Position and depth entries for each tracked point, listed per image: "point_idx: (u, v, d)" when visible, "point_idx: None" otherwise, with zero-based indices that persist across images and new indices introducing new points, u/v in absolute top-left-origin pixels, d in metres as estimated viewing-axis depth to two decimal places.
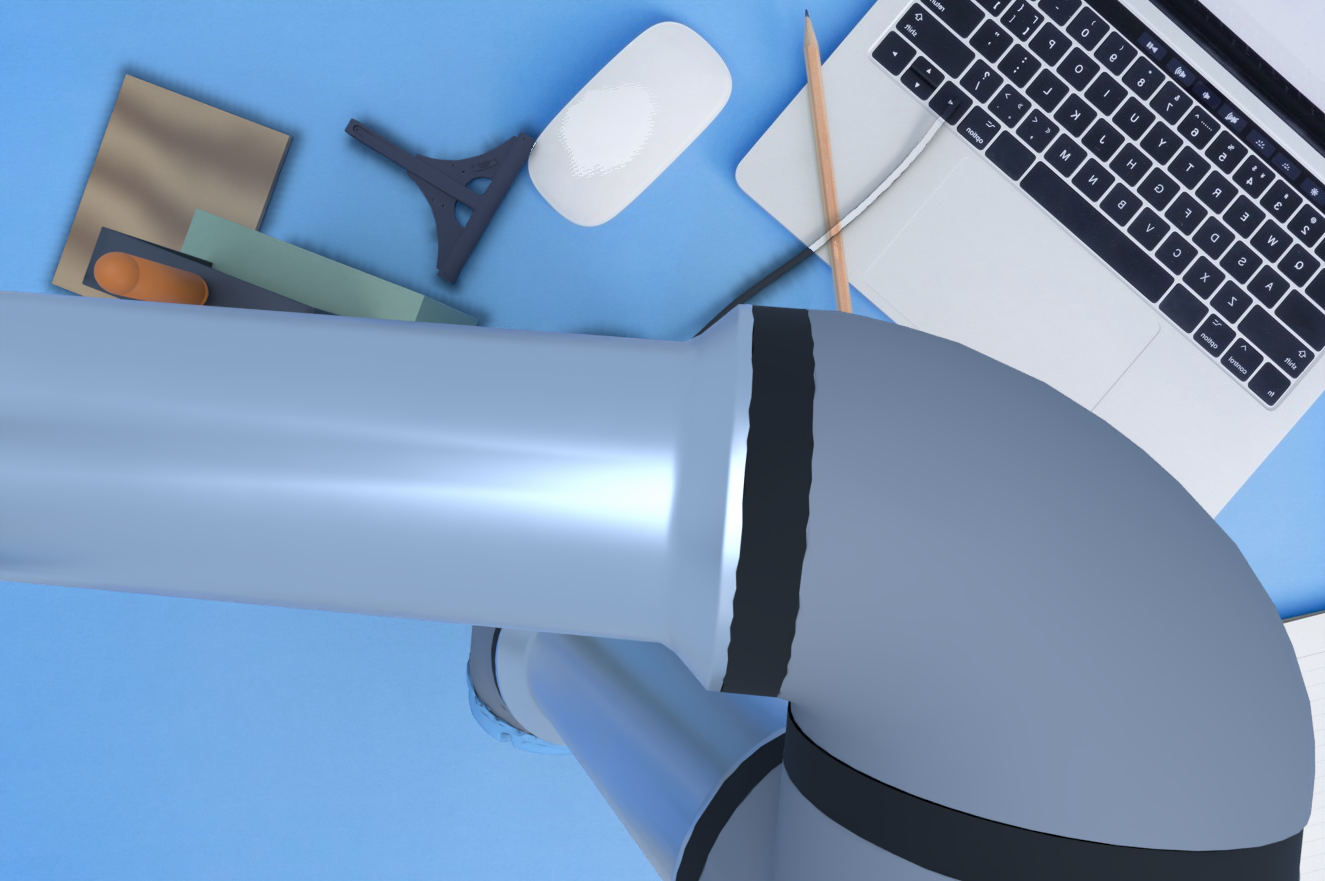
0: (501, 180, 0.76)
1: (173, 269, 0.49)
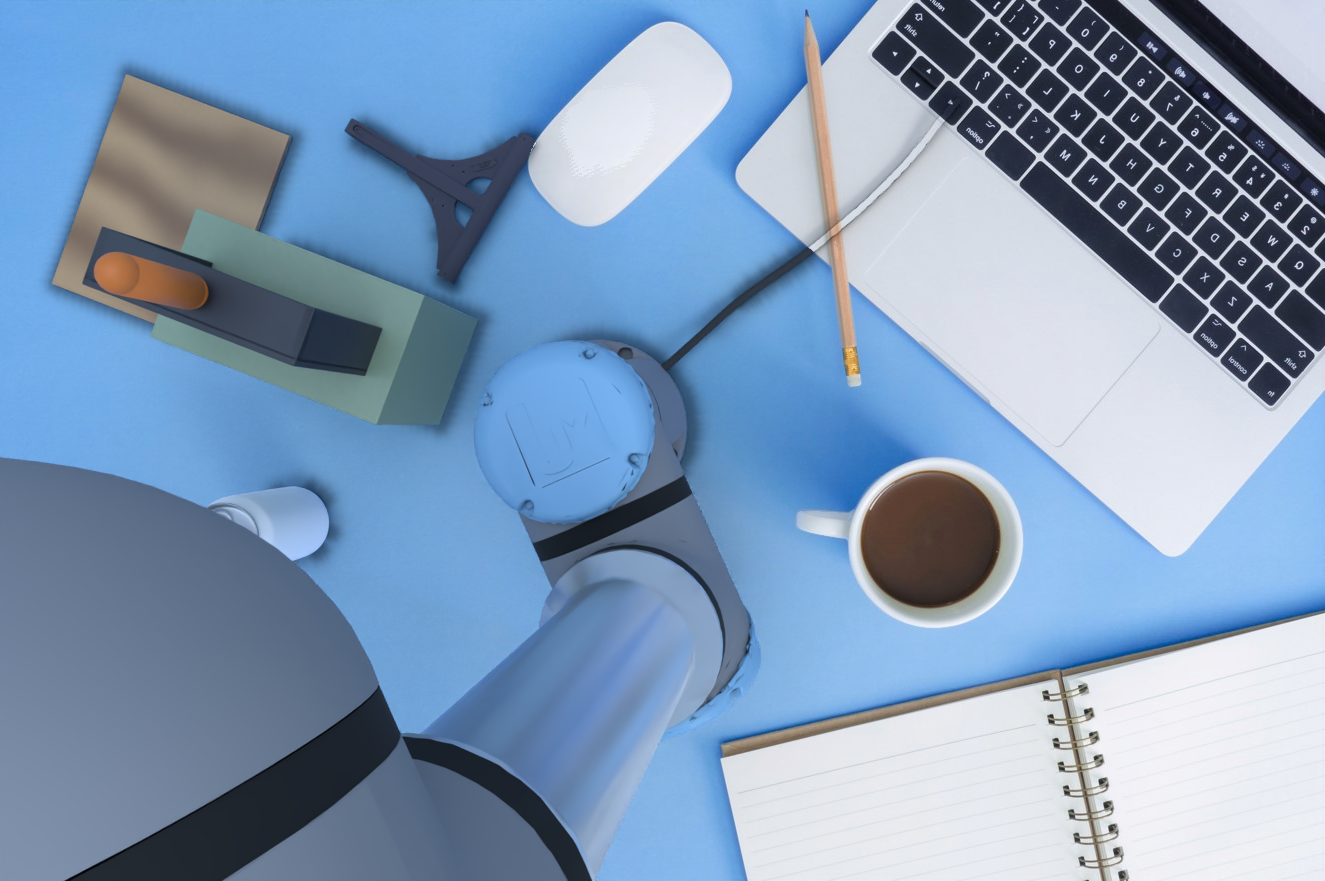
0: (501, 180, 0.76)
1: (173, 269, 0.49)
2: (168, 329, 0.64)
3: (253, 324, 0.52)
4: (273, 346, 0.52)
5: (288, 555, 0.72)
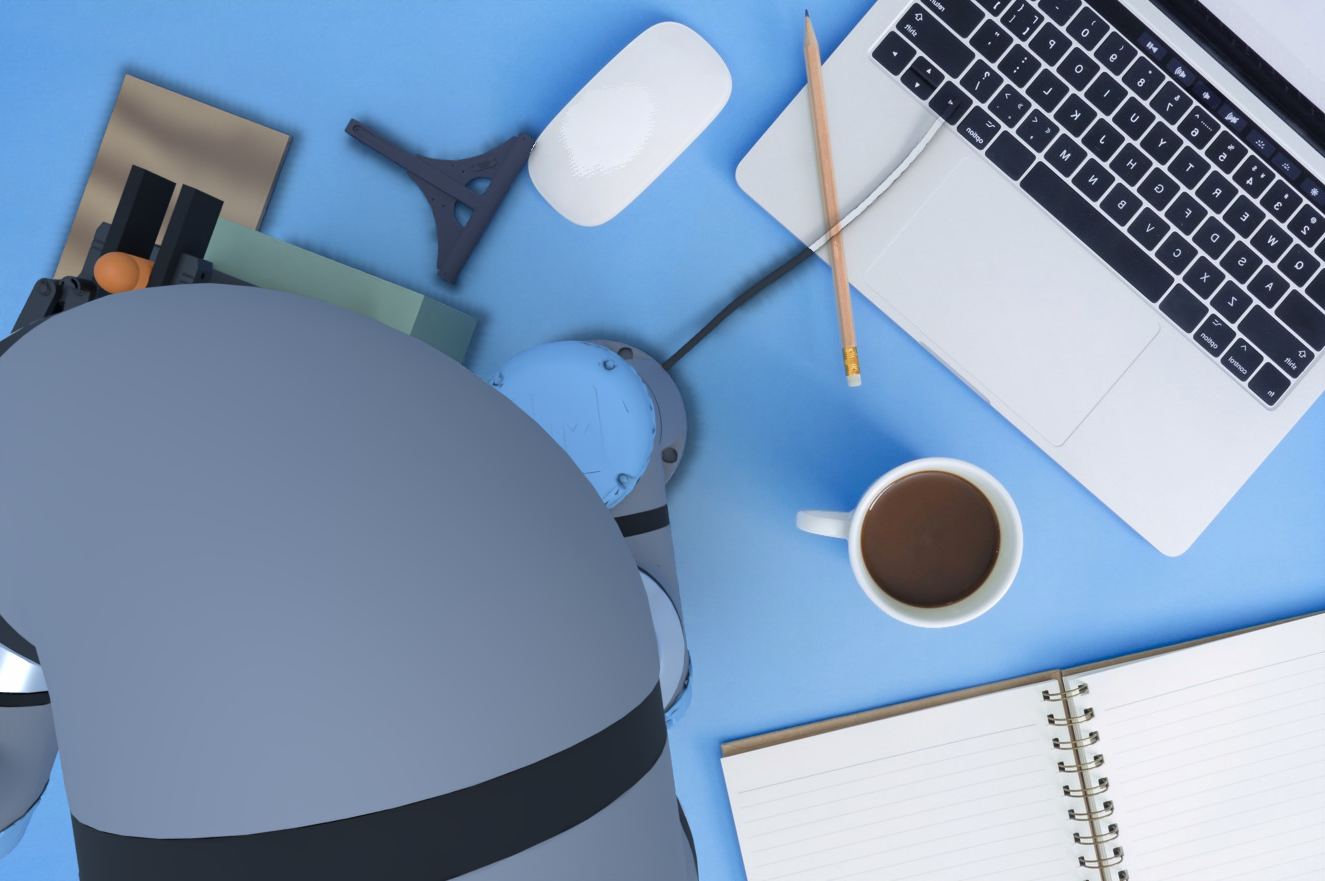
0: (501, 180, 0.76)
1: None
2: None
3: None
4: None
5: None
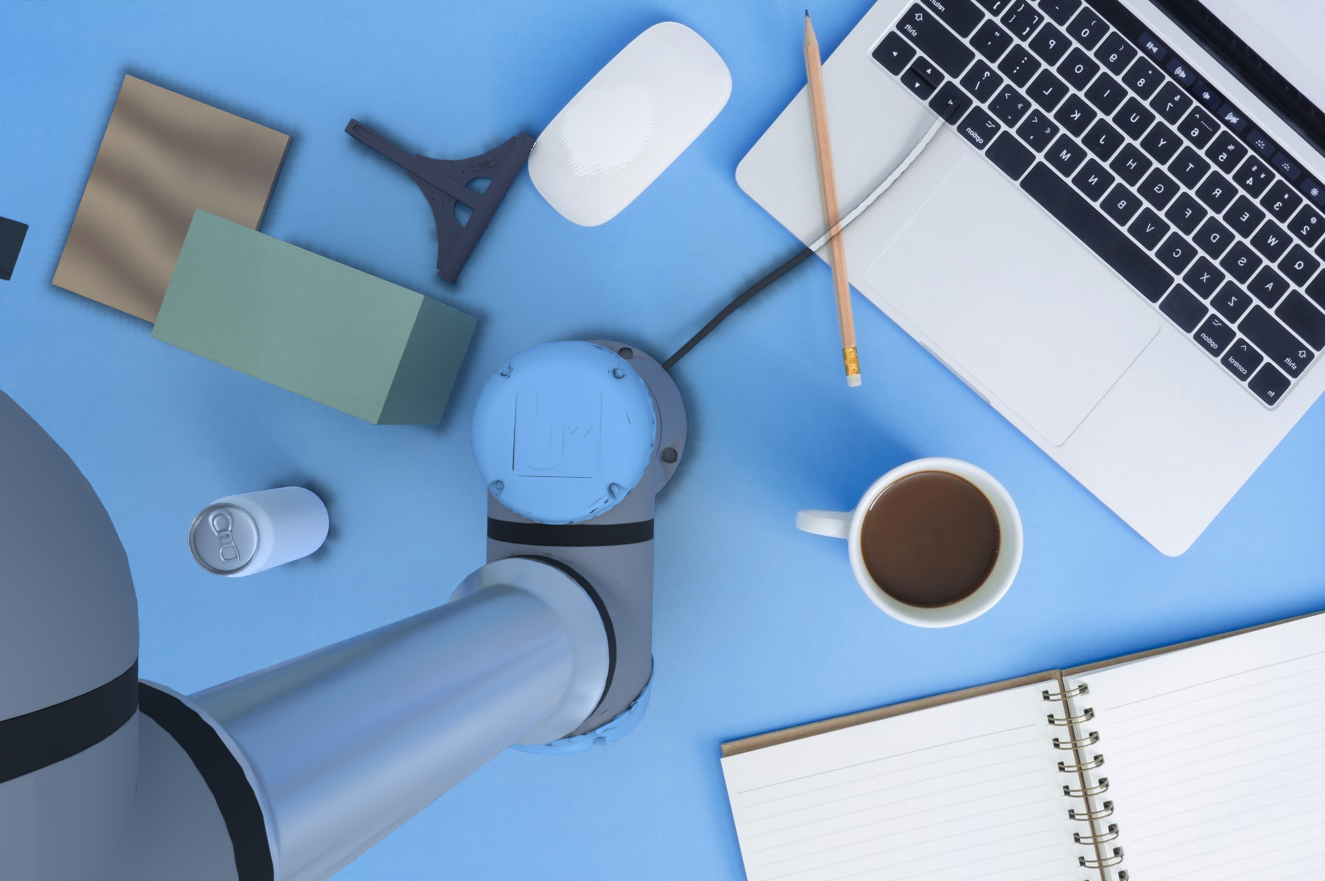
0: (501, 180, 0.76)
1: None
2: (168, 329, 0.64)
3: None
4: None
5: (288, 555, 0.72)
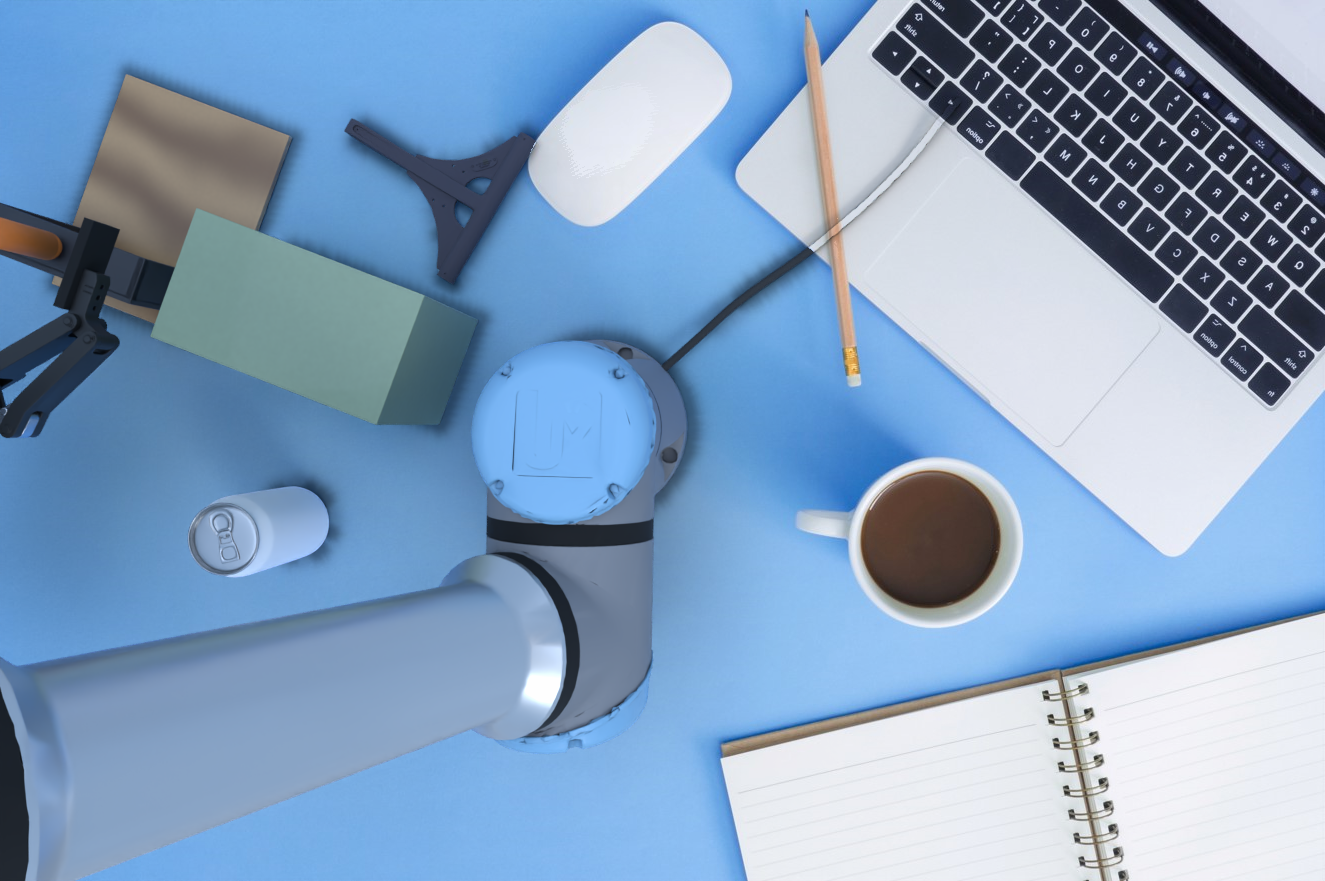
0: (501, 180, 0.76)
1: (28, 227, 0.64)
2: (168, 329, 0.64)
3: None
4: (113, 288, 0.68)
5: (288, 555, 0.72)
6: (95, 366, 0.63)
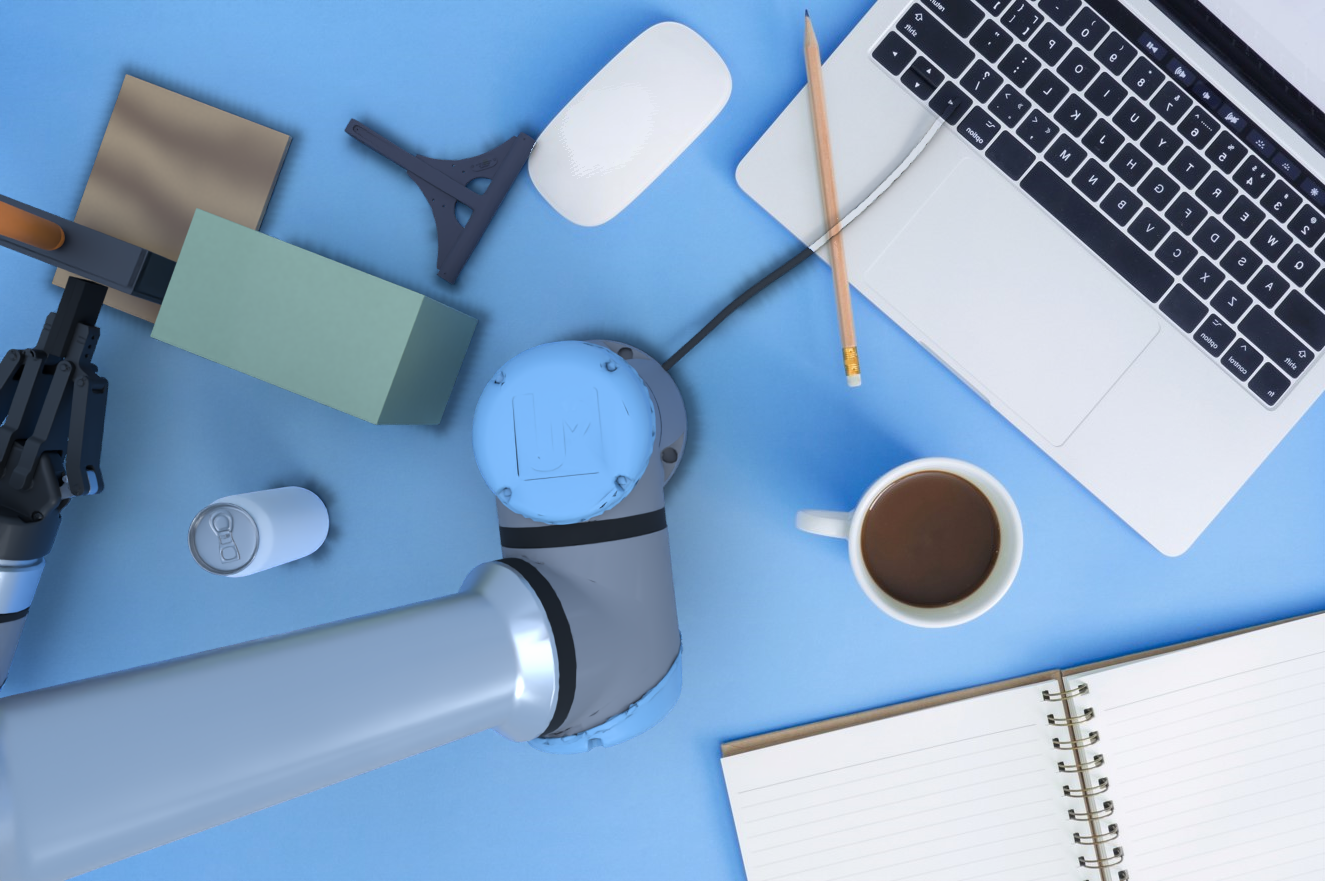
0: (501, 180, 0.76)
1: (32, 215, 0.64)
2: (168, 329, 0.64)
3: (99, 263, 0.68)
4: (115, 279, 0.67)
5: (288, 555, 0.72)
6: (103, 408, 0.74)
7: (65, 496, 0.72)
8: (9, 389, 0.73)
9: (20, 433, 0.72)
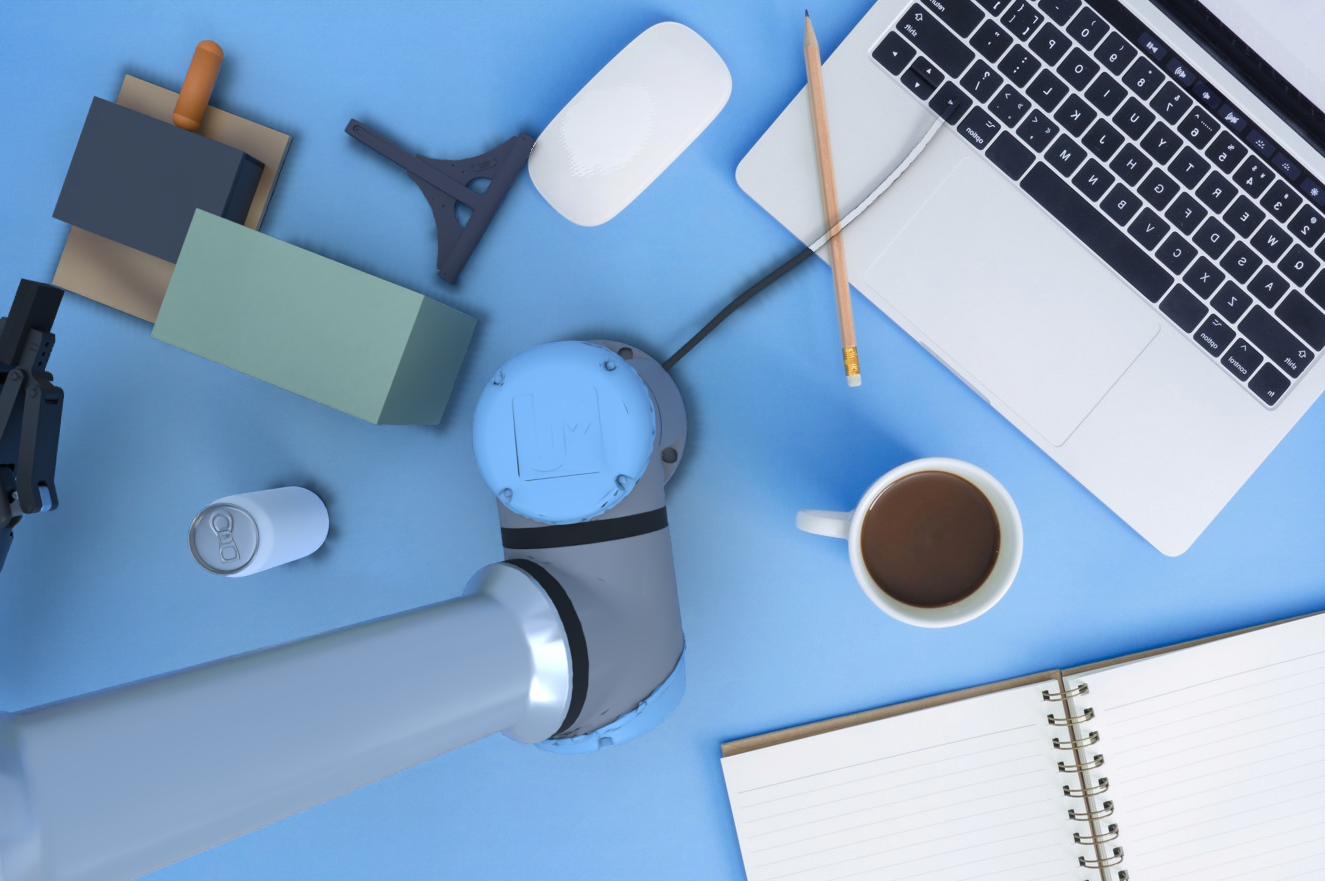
0: (501, 180, 0.76)
1: None
2: (168, 329, 0.64)
3: None
4: None
5: (288, 555, 0.72)
6: (58, 419, 0.69)
7: (16, 513, 0.68)
8: None
9: None
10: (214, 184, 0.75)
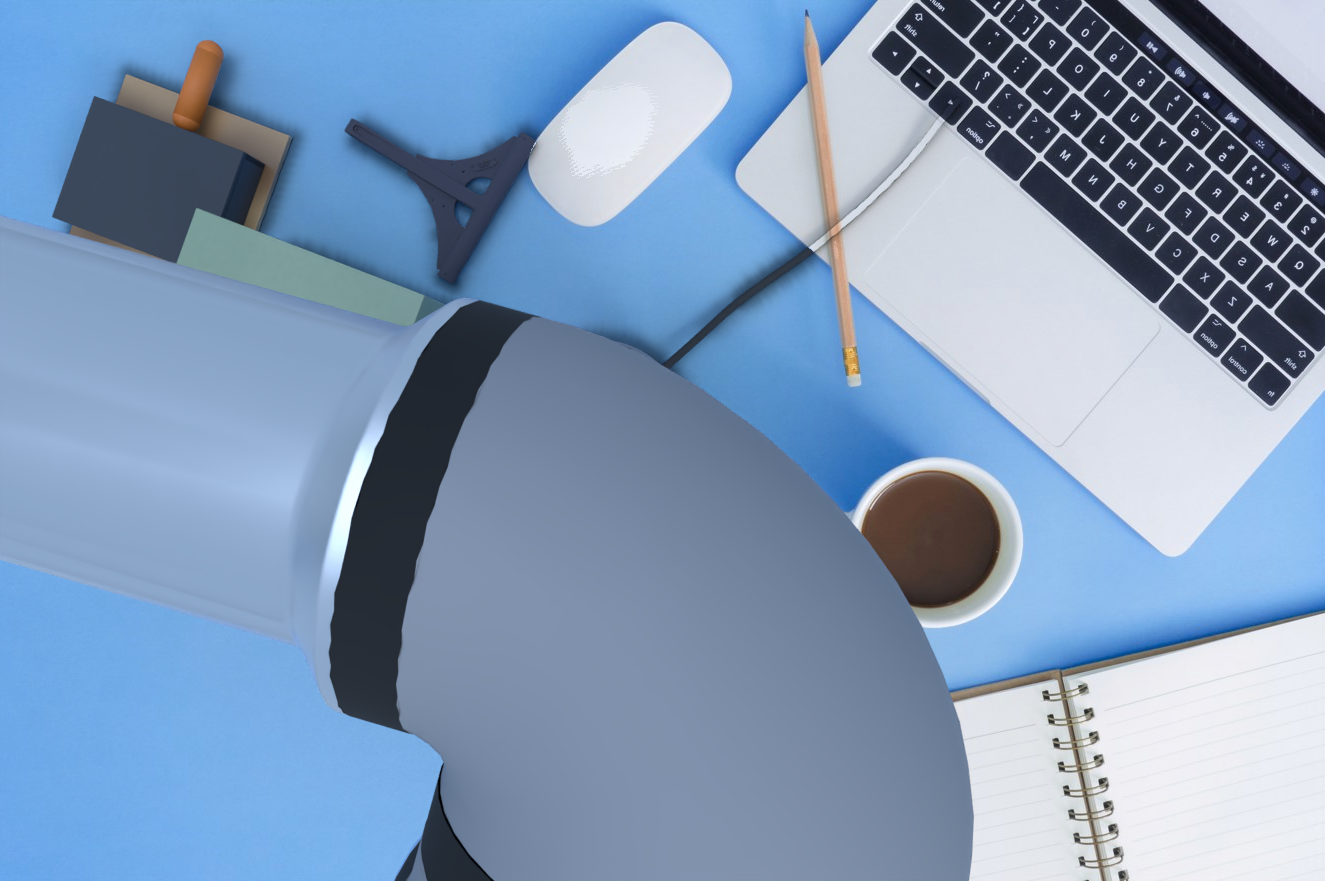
0: (501, 180, 0.76)
1: None
2: None
3: None
4: None
5: None
6: None
7: None
8: None
9: None
10: (214, 184, 0.75)
